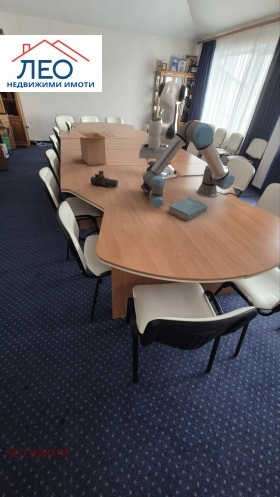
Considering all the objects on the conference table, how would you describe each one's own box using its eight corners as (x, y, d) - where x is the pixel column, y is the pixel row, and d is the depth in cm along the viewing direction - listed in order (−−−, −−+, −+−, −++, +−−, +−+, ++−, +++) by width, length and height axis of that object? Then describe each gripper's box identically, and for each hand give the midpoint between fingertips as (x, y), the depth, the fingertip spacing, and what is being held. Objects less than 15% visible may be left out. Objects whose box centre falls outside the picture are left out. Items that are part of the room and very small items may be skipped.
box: (116, 165, 229) (116, 136, 213) (83, 168, 214) (80, 137, 198) (102, 154, 259) (101, 128, 243) (71, 156, 244) (68, 129, 228)
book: (187, 203, 164) (188, 197, 161) (206, 211, 155) (207, 205, 152) (167, 212, 150) (168, 205, 147) (187, 221, 142) (188, 214, 139)
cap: (156, 164, 163) (156, 161, 161) (151, 165, 160) (151, 162, 159) (152, 163, 165) (152, 160, 164) (147, 164, 163) (148, 161, 162)
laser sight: (115, 189, 177) (115, 177, 171) (88, 185, 180) (87, 173, 174) (118, 185, 185) (118, 173, 179) (93, 181, 188) (92, 169, 182)
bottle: (147, 190, 180) (149, 160, 166) (155, 192, 178) (159, 162, 164) (143, 193, 175) (145, 162, 161) (151, 195, 172) (154, 164, 158)
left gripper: (167, 144, 158) (164, 164, 167) (139, 142, 156) (138, 162, 164) (169, 146, 153) (166, 166, 162) (139, 144, 151) (138, 165, 159)
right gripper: (139, 199, 159) (136, 187, 177) (167, 199, 162) (161, 187, 180) (140, 189, 154) (136, 177, 172) (168, 189, 157) (162, 178, 175)
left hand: (151, 164), depth 163 cm, fingers closed on cap, 4 cm apart
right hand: (149, 182), depth 176 cm, fingers closed on bottle, 8 cm apart
